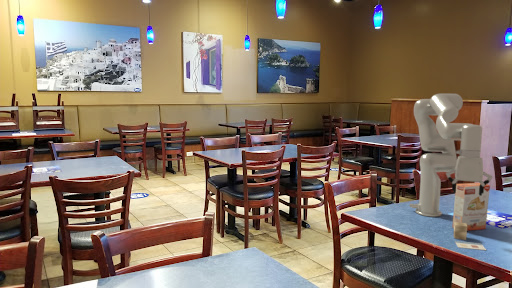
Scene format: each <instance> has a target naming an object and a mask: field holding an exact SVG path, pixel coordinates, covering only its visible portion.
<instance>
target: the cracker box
mask: <svg viewBox="0 0 512 288" xmlns="http://www.w3.org/2000/svg"><path fill="white" fill-rule="evenodd" d="M479 185H480V183H479V182H472V183H471V182H470V183H466V182H465V183H456V193H454V202H453V203H454V205H453V215H452V227H451V228H453V229H454V222H459V223H466V224H467V231H479V230H480V231H482V230H486V228H487V218H488V208H489V199H490V190H491V185H490V184H486V185H485V186H484V193H483V194H482V196H480V195H479Z"/></svg>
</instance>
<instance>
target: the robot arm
mask: <svg viewBox="0 0 512 288" xmlns="http://www.w3.org/2000/svg"><path fill="white" fill-rule="evenodd" d="M463 103H464V101H463V98H462V96H461V95H459V94H458V93H443V92H441V93H436V94H433V95H432V96H431V97H430V98H422V99H419V100H417V101H415V103H414V106H413V116H414V119H415V121H416V123H417V127H418V135H419V142H420V147H421V150H423V151H424V152H427V153H424V154H422V155H421V156H420V158H419V168H420V183H419V186H420V187H419V197H418V198H419V199H418V200H419V202H418V203H409V207H410V208H411V209H415V213H416V214H418V215H420V216H425V217H434V218H436V217H441V216H442V215H443V212H442V211H441V210H440V201H441V200H440V199H441V198H440V197H441V186H442V185H441V184H442V183H441V182H442V181H441V178H440V176H439V175H438V173H443V172H444V173H445V175H446V177H447V179H448V180H449V182H450V183H451V185H452V187H451V191H452V192H453V194H455V193H456V184H457V182H458V181H462V182H463V181H464V182H472V183H480V185H479V195H480V196H482V194H483V193H484V186H485V185H486V184H487V185H489V183H490V182H491V180H492V179H493V176H492V175H490V174H489V173H487V172H485V171H484V163H483V162H484V161H483V158H482V157H481V151H482V138H483V137H482V136H483V127H482V125H479V124H473V123H470V122H469V123H463V122H453V121H455V120H456V119H457V117H458V115H459V111H460V110H461V109H462V107H463V105H464V104H463ZM430 116H437V117H436V120H435V121H434V120H433V119H432V118H431V117H430ZM455 141H460V146H459V147H460V149H458V150H456V145H455ZM439 152H441V153H439ZM457 154H458V156H457ZM453 174H454V178H452V177H451V175H453ZM484 177H486V179H485V180H484V181H483V179H484Z"/></svg>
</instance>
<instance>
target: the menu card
mask: <svg viewBox="0 0 512 288" xmlns="http://www.w3.org/2000/svg"><path fill="white" fill-rule="evenodd" d="M454 243H455V245H456V246H457V248H460V249H469V250H478V251H487V249H486V248H485V247H484V245H483V244H482V243H479V242H467V241H460V240H459V241H458V240H454Z"/></svg>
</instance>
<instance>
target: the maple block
mask: <svg viewBox="0 0 512 288" xmlns="http://www.w3.org/2000/svg"><path fill="white" fill-rule="evenodd" d="M467 235H468V232H467V224H466V223H459V222H454V228H453V238H454V239H455V240H461V241H462V240H463V241H467Z"/></svg>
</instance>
